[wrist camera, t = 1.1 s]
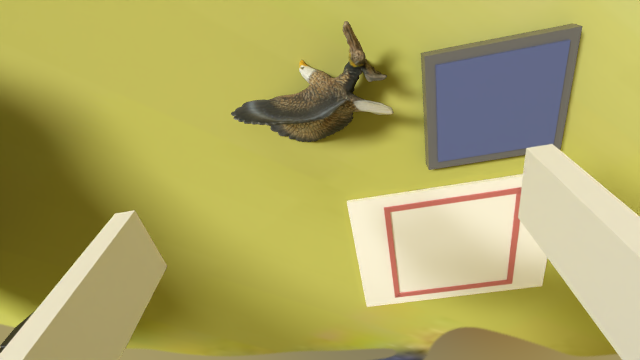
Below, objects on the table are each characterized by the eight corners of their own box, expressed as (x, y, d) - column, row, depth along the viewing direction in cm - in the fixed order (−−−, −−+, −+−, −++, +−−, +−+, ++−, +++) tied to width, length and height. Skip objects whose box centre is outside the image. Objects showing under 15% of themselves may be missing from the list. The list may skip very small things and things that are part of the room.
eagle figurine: (314, -12, 22) (213, 88, 24) (379, 48, 18) (252, 162, 20) (361, 61, 28) (278, 136, 30) (416, 117, 25) (317, 199, 26)
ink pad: (426, 163, 30) (429, 171, 29) (421, 52, 25) (425, 57, 24) (553, 143, 29) (561, 150, 28) (573, 23, 24) (584, 26, 23)
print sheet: (366, 304, 39) (367, 308, 39) (346, 200, 32) (347, 203, 31) (540, 283, 37) (542, 287, 37) (561, 168, 30) (565, 170, 29)
